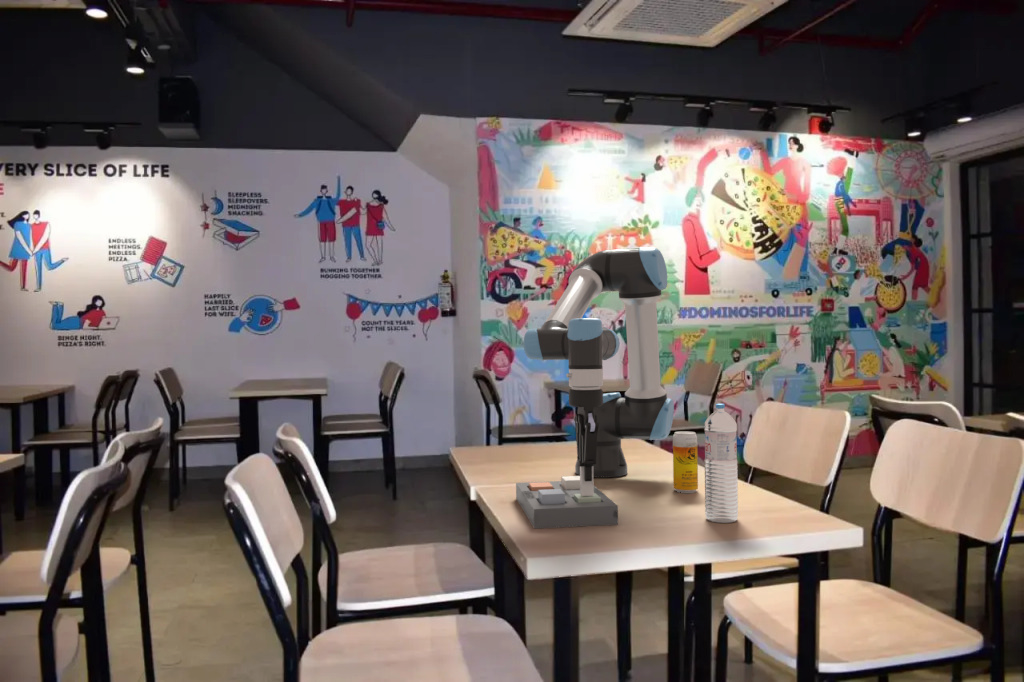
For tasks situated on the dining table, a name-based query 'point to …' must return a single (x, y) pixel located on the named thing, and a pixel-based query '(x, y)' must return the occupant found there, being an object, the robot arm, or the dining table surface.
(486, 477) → the dining table surface
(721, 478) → the water bottle
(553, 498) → the slate key
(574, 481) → the cream key
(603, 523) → the keypad
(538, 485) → the terracotta key
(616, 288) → the robot arm
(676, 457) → the beer can
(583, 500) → the sage key
